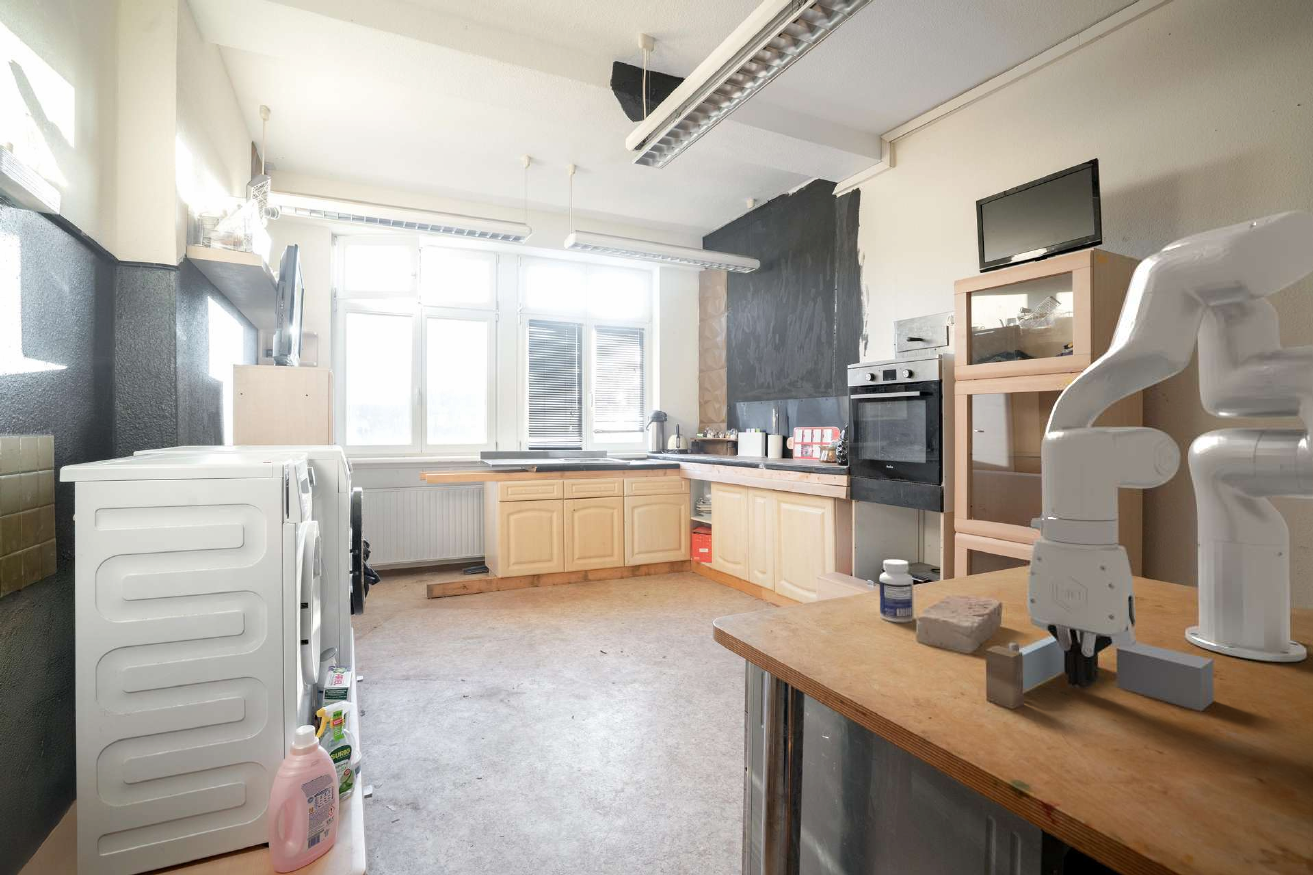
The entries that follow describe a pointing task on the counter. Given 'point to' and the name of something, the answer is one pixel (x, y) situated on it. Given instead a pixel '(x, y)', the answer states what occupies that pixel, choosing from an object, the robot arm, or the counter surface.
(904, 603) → the pill bottle
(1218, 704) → the counter surface
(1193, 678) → the block
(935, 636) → the brick
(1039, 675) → the door
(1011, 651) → the brown wooden block
